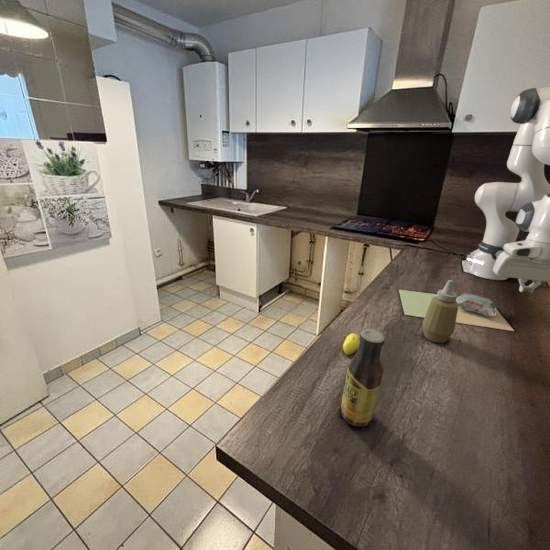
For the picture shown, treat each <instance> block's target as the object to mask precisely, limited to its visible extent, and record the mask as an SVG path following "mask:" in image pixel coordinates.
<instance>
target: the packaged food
mask: <svg viewBox="0 0 550 550" xmlns="http://www.w3.org/2000/svg"><path fill="white" fill-rule="evenodd" d="M457 297H458V298H459V301H458V302H457V303H458V307H459V308H461V309H464V310H468V311H471V312H475V313H478V314H482V315H487V316H495V315H496V313H495V312H496V311H495V310H494V308H496V309H497V308H499V305H498V304H497V303H496V302H495V301H494V300H492V299H491V298H487V297H484V296H479V295H476V294H473V293H465V292H464V293H462V294H460V295H457Z"/></svg>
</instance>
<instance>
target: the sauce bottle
mask: <svg viewBox="0 0 550 550" xmlns="http://www.w3.org/2000/svg"><path fill="white" fill-rule="evenodd" d="M359 337H360V338H359V339H360V344H359V348H358V349H357V350H356V352H355V354H354V356H353V357H352V359H351V360H350V362H349V363H348V365H347V369H346V376H345V381H344V386H343V391H342V398H341V405H340V407H341V409H340V413H341V416H342V418H343V419H344V420H345V421H346V422H347V424H349V425H350V426H354V427H359V428H362V427H366V426H368V425H369V424H370V423H371V422H372V421H373V417H374V413H375V409H376V405H377V401H378V397H379V393H380V389H381V385H382V379H383V374H384V365H383V363H382V359H381V353H382V348H383V346H384V344H385V340H386V338H385V335H384V334H383V333H382V332H381V331H379V330H377V329H375V328H365V329H363V330H362V331H361V332H360V334H359Z"/></svg>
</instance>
